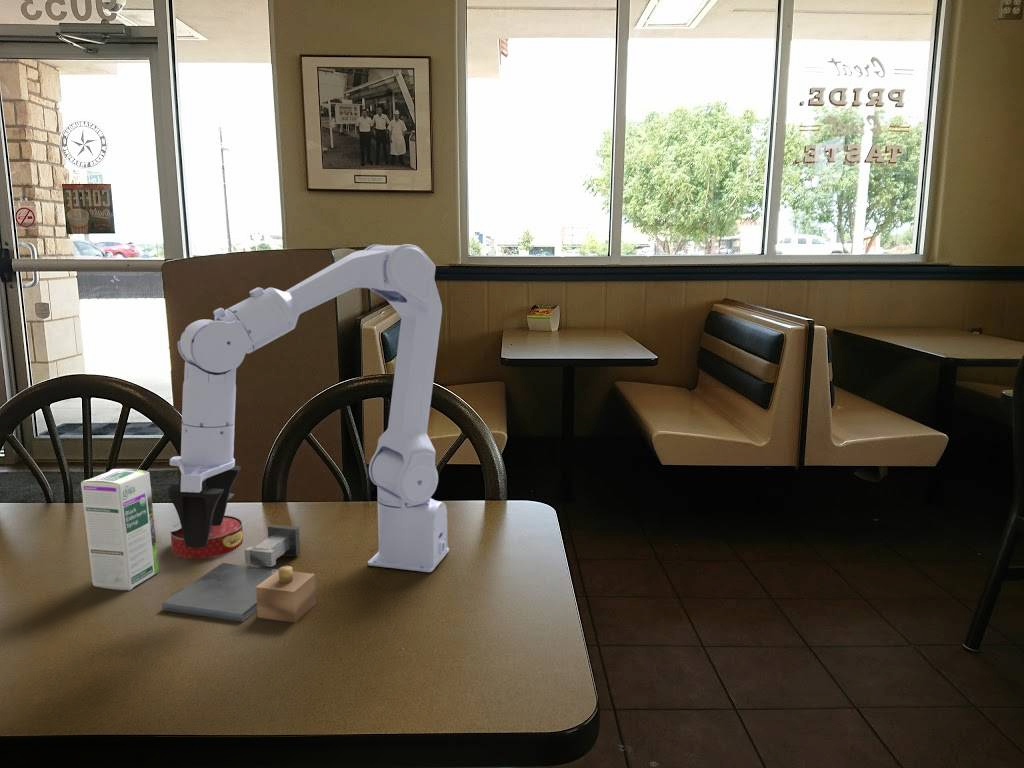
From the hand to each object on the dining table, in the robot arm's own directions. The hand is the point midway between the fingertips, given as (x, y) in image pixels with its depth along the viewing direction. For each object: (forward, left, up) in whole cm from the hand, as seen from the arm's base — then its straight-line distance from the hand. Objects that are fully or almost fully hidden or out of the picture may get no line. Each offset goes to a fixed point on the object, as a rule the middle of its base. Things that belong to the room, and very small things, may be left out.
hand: (204, 535), depth 87 cm
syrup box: (+16, -5, -10) cm, 19 cm away
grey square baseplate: (0, -5, -10) cm, 11 cm away
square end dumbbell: (0, -14, -9) cm, 17 cm away
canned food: (+13, -18, -10) cm, 24 cm away
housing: (-9, -3, -10) cm, 14 cm away
